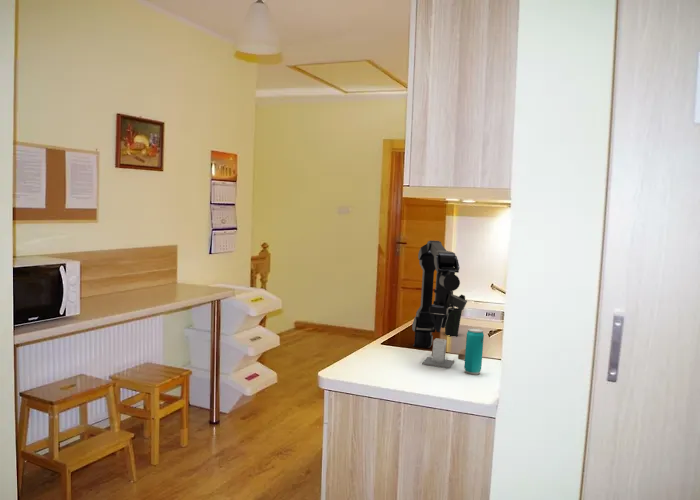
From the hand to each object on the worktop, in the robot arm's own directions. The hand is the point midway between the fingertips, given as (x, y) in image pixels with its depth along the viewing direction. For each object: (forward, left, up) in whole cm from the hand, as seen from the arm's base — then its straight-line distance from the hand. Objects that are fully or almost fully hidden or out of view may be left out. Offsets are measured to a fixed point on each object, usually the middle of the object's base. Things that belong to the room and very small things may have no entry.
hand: (440, 330), depth 209 cm
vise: (+4, +15, -12) cm, 20 cm away
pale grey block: (0, 0, -12) cm, 12 cm away
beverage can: (+13, -6, -13) cm, 19 cm away
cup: (-4, +53, -13) cm, 55 cm away
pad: (0, 0, -12) cm, 12 cm away
